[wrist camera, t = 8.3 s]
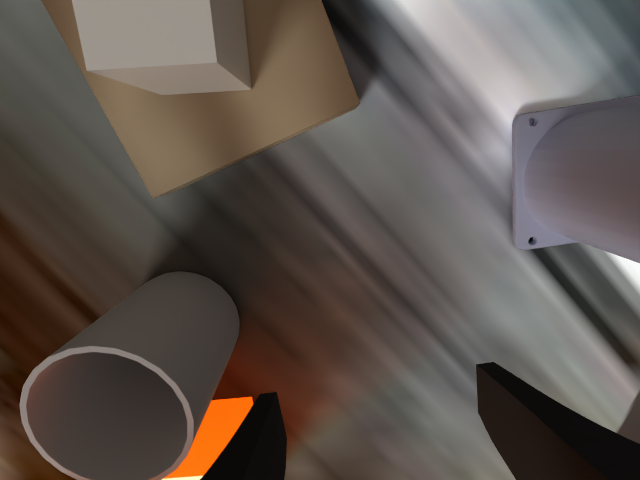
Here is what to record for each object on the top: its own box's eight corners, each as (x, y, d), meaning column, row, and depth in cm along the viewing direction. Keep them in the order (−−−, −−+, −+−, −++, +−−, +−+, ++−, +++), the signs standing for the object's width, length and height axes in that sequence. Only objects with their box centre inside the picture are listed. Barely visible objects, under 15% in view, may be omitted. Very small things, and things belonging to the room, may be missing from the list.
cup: (251, 282, 22) (207, 368, 13) (224, 407, 25) (173, 545, 16) (140, 256, 22) (21, 327, 13) (125, 386, 24) (16, 517, 16)
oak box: (265, -124, 17) (253, -180, 14) (354, 109, 20) (360, 103, 17) (64, -14, 18) (16, -44, 15) (175, 191, 21) (152, 198, 18)
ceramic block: (241, -17, 16) (197, -102, 10) (251, 89, 17) (217, 62, 11) (145, -10, 16) (52, -90, 10) (162, 95, 17) (86, 70, 12)
